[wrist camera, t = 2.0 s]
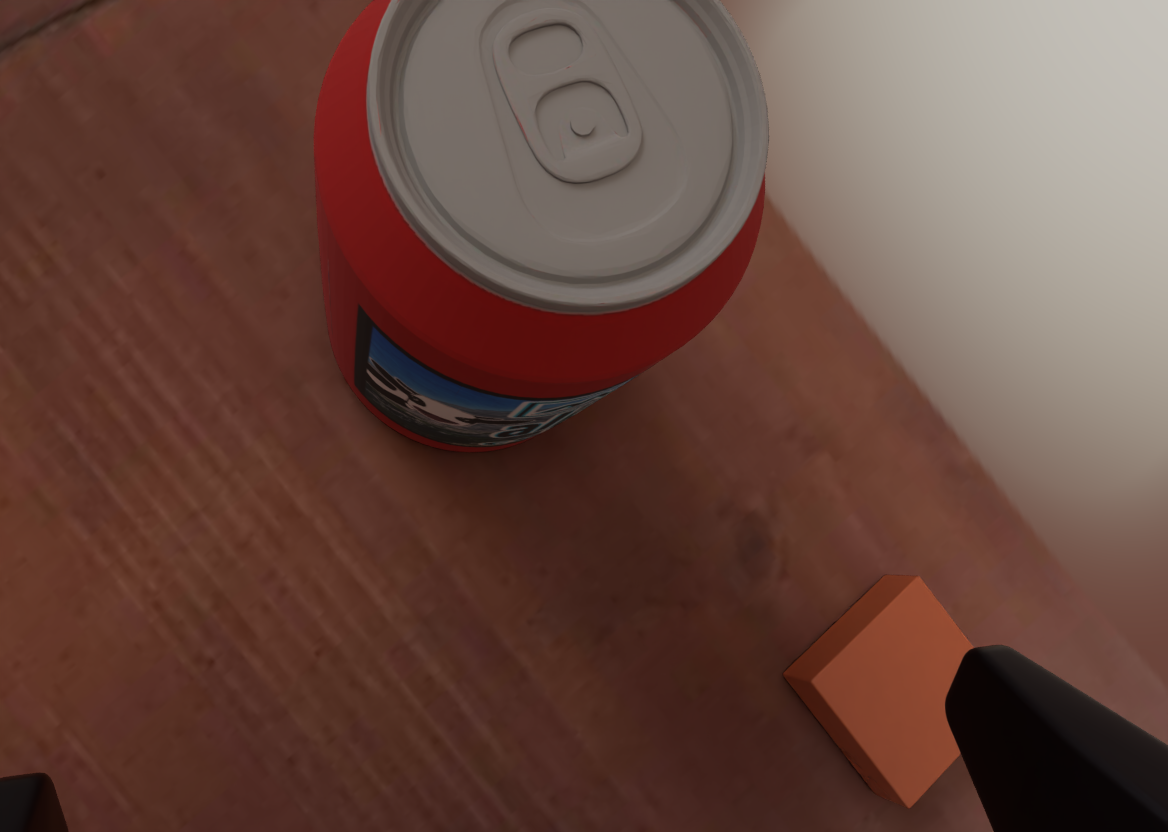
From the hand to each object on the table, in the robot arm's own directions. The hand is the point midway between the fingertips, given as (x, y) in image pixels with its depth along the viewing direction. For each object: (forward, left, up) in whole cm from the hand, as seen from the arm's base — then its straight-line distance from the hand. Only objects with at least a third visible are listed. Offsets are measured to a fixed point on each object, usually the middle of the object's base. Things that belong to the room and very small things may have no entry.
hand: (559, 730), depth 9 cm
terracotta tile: (-9, -8, -14) cm, 18 cm away
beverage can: (+5, -5, -14) cm, 16 cm away
